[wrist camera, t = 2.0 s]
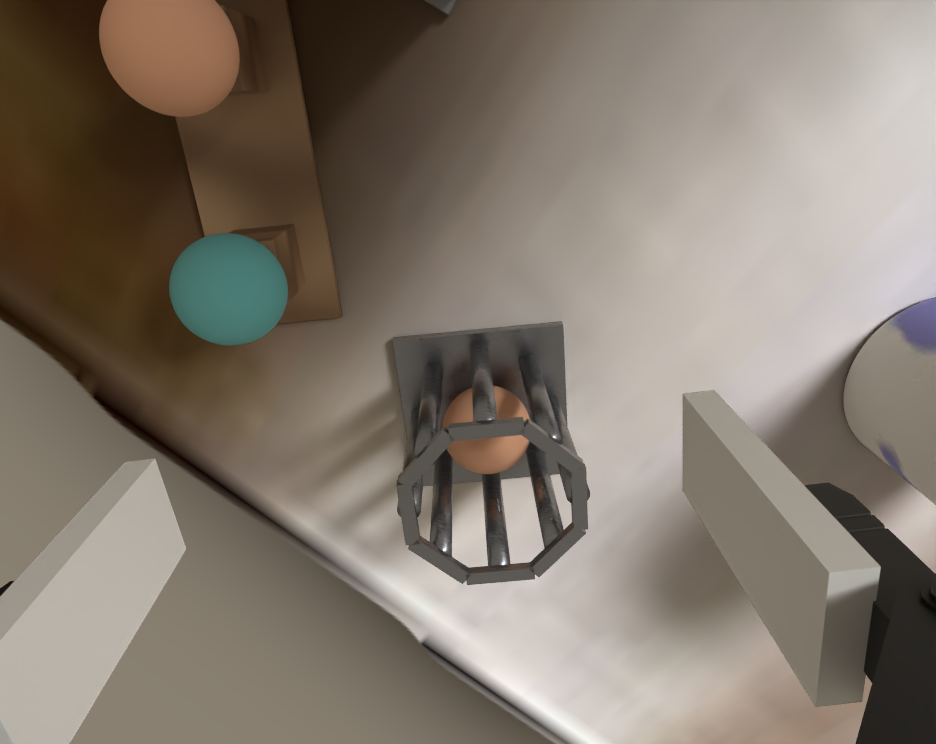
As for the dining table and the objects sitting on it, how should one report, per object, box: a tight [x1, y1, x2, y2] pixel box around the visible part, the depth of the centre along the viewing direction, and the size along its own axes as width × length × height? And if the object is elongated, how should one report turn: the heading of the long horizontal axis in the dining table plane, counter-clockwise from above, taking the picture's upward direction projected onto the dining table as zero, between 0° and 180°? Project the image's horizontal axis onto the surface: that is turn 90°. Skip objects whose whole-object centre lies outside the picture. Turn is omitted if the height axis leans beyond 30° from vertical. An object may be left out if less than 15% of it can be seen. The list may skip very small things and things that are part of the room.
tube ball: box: [442, 386, 530, 474], centre depth 34 cm, size 5×5×5 cm
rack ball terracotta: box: [99, 0, 240, 117], centre depth 24 cm, size 5×5×5 cm
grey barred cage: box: [393, 322, 590, 585], centre depth 32 cm, size 9×9×10 cm
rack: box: [175, 0, 342, 324], centre depth 29 cm, size 16×6×5 cm, turn 5°
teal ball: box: [169, 233, 288, 345], centre depth 27 cm, size 5×5×5 cm
